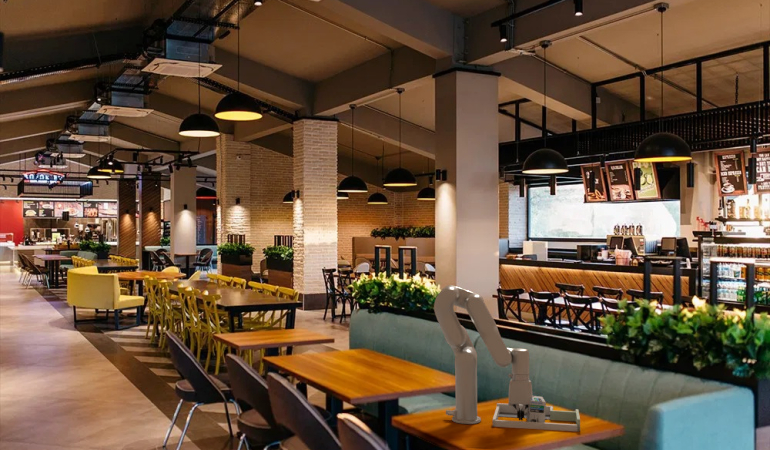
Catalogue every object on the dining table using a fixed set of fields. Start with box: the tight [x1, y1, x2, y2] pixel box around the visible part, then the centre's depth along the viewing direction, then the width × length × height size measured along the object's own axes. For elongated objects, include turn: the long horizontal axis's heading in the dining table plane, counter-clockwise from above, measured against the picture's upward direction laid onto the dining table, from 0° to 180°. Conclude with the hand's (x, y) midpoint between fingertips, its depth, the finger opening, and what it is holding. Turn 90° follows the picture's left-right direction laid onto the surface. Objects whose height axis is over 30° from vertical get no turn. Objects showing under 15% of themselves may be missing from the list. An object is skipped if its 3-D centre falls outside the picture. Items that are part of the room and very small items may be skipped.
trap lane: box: [492, 402, 581, 432], centre depth 300 cm, size 36×25×5 cm
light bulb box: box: [526, 395, 547, 423], centre depth 296 cm, size 11×7×11 cm, turn 174°
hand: (520, 419), depth 298 cm, fingers closed
